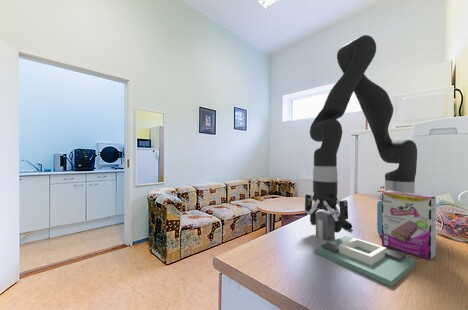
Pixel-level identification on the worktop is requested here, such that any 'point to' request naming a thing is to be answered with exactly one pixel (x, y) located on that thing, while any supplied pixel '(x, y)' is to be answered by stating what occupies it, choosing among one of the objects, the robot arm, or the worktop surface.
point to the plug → (325, 225)
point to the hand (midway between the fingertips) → (324, 228)
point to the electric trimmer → (346, 224)
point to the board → (368, 259)
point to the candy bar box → (409, 223)
